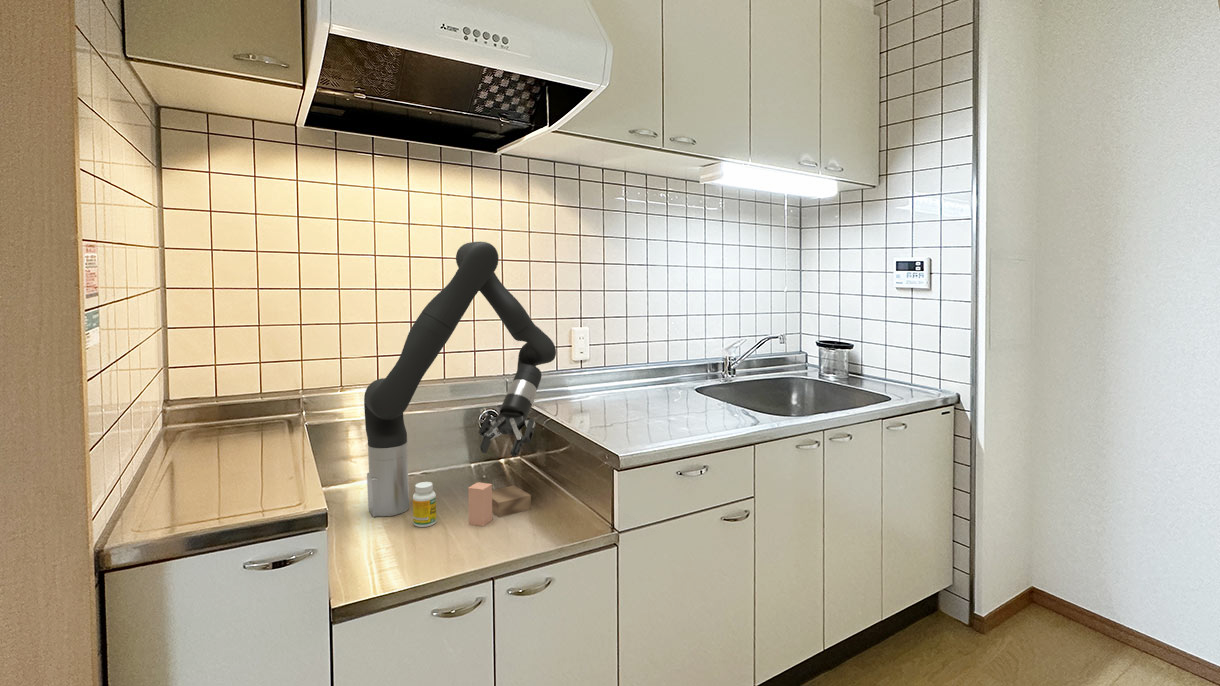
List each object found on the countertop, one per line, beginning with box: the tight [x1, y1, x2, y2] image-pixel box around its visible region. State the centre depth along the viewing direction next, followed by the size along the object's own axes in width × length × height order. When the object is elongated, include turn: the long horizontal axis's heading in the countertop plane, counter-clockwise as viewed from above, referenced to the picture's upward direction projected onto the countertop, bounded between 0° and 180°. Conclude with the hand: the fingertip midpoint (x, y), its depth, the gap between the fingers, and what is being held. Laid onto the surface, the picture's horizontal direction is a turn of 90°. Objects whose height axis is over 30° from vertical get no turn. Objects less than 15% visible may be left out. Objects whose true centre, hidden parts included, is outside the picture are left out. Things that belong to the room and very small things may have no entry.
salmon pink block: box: [467, 481, 493, 527], centre depth 142 cm, size 4×4×9 cm
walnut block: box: [492, 485, 532, 518], centre depth 152 cm, size 9×9×4 cm
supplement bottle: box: [412, 481, 437, 528], centre depth 141 cm, size 5×5×10 cm
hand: (498, 453), depth 149 cm, fingers open, 8 cm apart
